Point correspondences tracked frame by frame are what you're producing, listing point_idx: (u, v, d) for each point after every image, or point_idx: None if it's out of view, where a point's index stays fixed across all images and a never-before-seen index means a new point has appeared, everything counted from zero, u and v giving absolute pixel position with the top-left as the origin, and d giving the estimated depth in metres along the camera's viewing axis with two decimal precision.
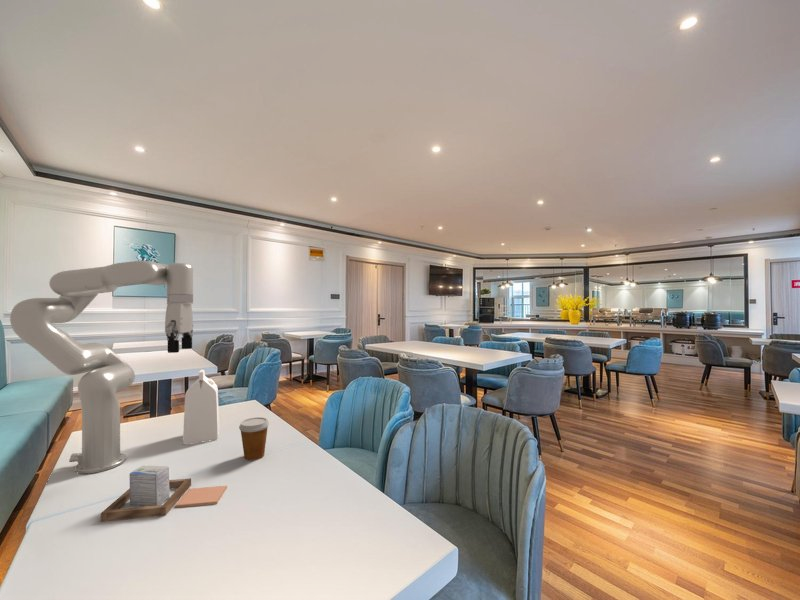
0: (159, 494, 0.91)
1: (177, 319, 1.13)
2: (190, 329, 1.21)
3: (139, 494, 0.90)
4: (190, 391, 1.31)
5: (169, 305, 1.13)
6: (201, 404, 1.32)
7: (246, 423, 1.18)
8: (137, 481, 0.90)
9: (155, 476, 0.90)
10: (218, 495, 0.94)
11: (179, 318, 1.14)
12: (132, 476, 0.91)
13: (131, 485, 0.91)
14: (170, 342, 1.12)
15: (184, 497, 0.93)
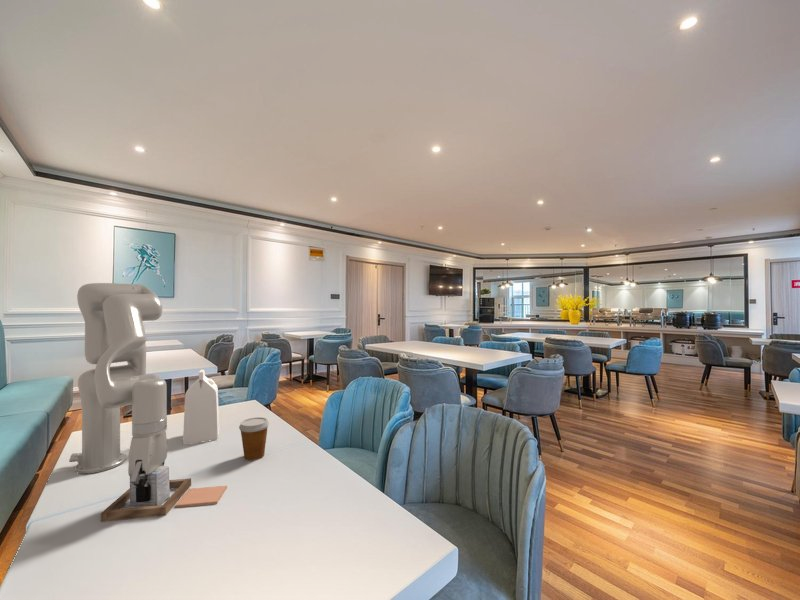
0: (160, 494, 0.91)
1: (144, 458, 0.88)
2: (163, 459, 0.95)
3: None
4: (190, 391, 1.31)
5: (134, 440, 0.88)
6: (201, 404, 1.32)
7: (246, 423, 1.18)
8: None
9: (155, 476, 0.90)
10: (218, 495, 0.94)
11: (147, 456, 0.88)
12: None
13: (131, 485, 0.91)
14: (139, 490, 0.88)
15: (184, 497, 0.93)
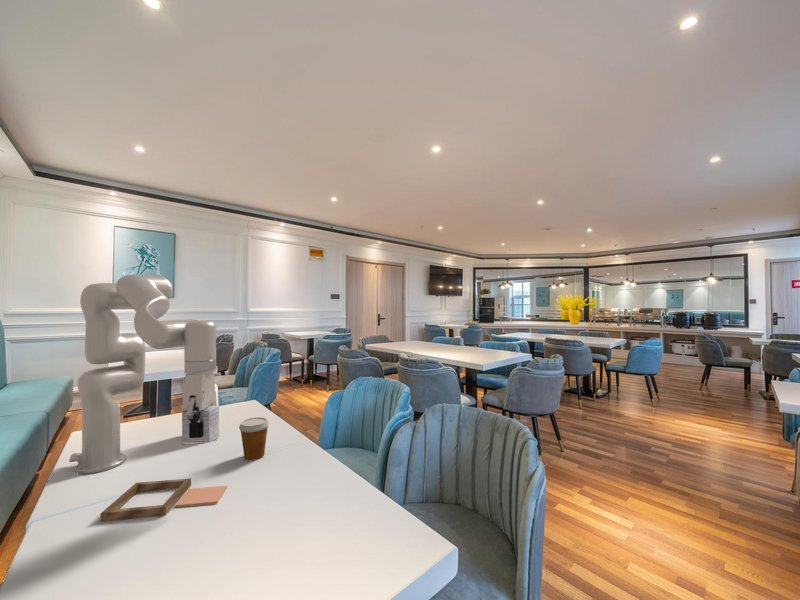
0: (211, 431, 0.93)
1: (198, 394, 0.90)
2: (212, 400, 0.98)
3: None
4: None
5: (188, 376, 0.90)
6: None
7: (246, 423, 1.18)
8: None
9: (207, 413, 0.92)
10: (218, 495, 0.94)
11: (200, 392, 0.90)
12: (184, 413, 0.93)
13: (183, 422, 0.93)
14: (192, 425, 0.91)
15: (184, 497, 0.93)
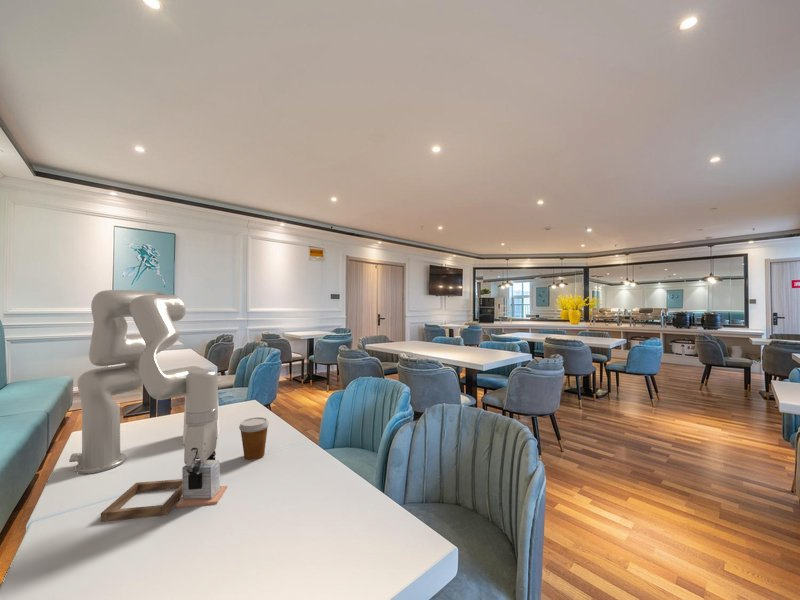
0: (213, 486, 0.93)
1: (199, 446, 0.90)
2: (214, 448, 0.98)
3: None
4: None
5: (189, 428, 0.90)
6: None
7: (246, 423, 1.18)
8: None
9: (209, 469, 0.92)
10: (218, 495, 0.94)
11: (202, 444, 0.90)
12: (185, 470, 0.92)
13: (184, 479, 0.92)
14: (192, 477, 0.89)
15: None
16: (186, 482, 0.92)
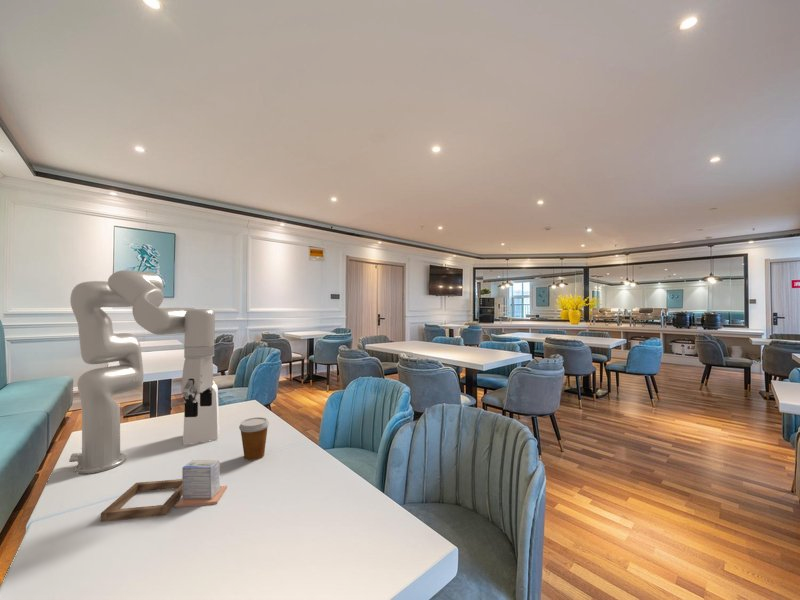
0: (213, 486, 0.93)
1: (196, 378, 0.96)
2: (210, 384, 1.03)
3: (193, 487, 0.92)
4: None
5: (187, 360, 0.96)
6: None
7: (246, 423, 1.18)
8: (191, 474, 0.92)
9: (209, 469, 0.92)
10: (218, 495, 0.94)
11: (198, 376, 0.96)
12: (185, 470, 0.92)
13: (184, 479, 0.92)
14: (188, 405, 0.94)
15: None
16: (186, 482, 0.92)
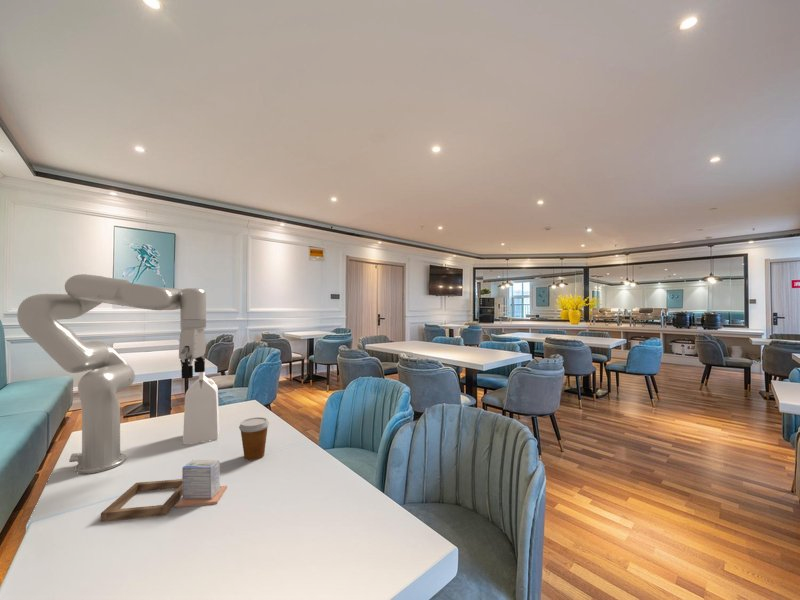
0: (213, 486, 0.93)
1: (191, 345, 1.14)
2: (203, 353, 1.21)
3: (193, 487, 0.92)
4: (190, 391, 1.31)
5: (183, 331, 1.14)
6: (201, 404, 1.32)
7: (246, 423, 1.18)
8: (191, 474, 0.92)
9: (209, 469, 0.92)
10: (218, 495, 0.94)
11: (193, 344, 1.14)
12: (185, 470, 0.92)
13: (184, 479, 0.92)
14: (184, 368, 1.13)
15: None
16: (186, 482, 0.92)
